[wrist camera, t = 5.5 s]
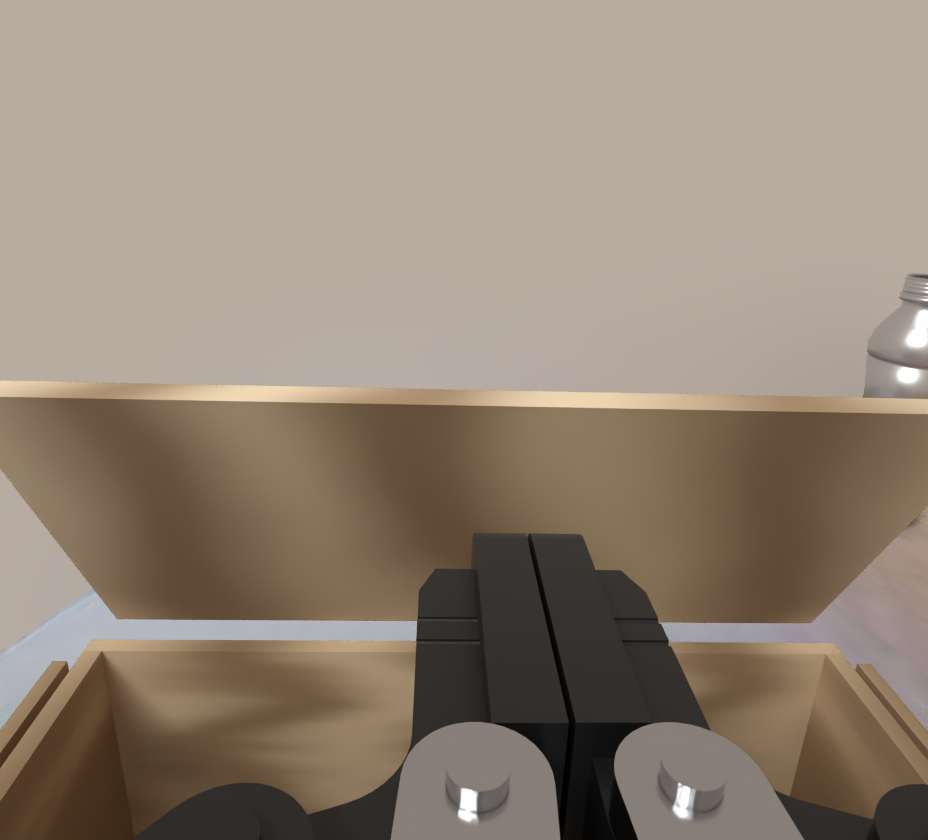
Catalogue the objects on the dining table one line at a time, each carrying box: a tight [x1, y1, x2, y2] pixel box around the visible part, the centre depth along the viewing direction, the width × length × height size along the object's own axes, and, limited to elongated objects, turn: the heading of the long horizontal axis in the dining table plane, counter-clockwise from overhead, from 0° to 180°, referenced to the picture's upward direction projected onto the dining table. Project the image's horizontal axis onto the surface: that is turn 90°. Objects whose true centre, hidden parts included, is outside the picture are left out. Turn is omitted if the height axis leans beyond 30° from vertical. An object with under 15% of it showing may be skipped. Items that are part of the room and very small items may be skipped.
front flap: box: [0, 381, 928, 623], centre depth 18 cm, size 21×10×1 cm
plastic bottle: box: [863, 274, 928, 518], centre depth 57 cm, size 6×7×20 cm
